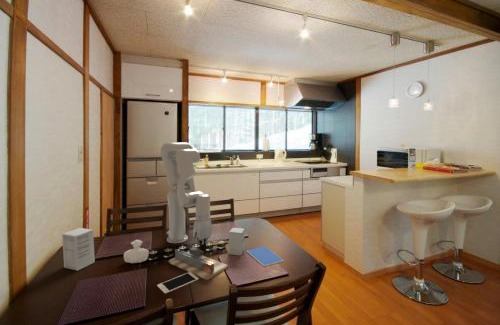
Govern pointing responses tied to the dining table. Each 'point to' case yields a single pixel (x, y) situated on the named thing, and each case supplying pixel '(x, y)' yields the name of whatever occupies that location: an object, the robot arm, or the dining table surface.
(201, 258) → the tongs hinged arm
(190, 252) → the lock slider
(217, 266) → the rest board
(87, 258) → the supplement box
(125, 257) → the white rounded piece
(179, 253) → the tongs fixed arm
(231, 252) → the supplement box
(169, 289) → the cell phone
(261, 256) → the tablet computer
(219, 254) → the dining table surface
